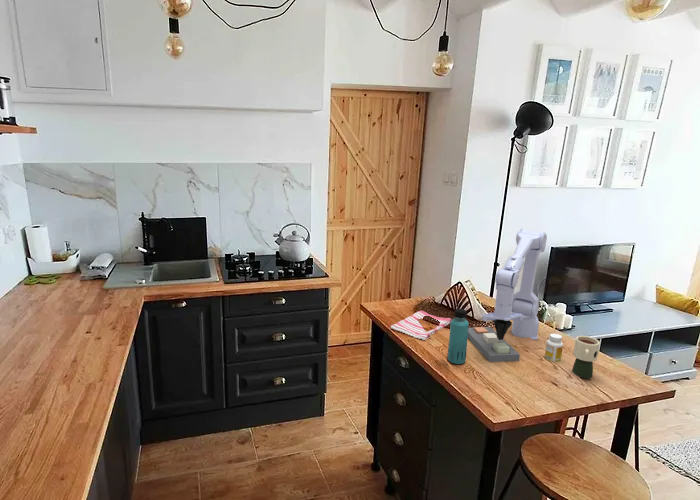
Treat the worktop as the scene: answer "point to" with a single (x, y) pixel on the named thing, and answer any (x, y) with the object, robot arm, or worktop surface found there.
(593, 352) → the character mug
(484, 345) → the button console
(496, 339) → the cream button
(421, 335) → the dish towel
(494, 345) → the sage button
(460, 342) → the beverage bottle
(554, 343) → the supplement bottle
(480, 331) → the terracotta button
